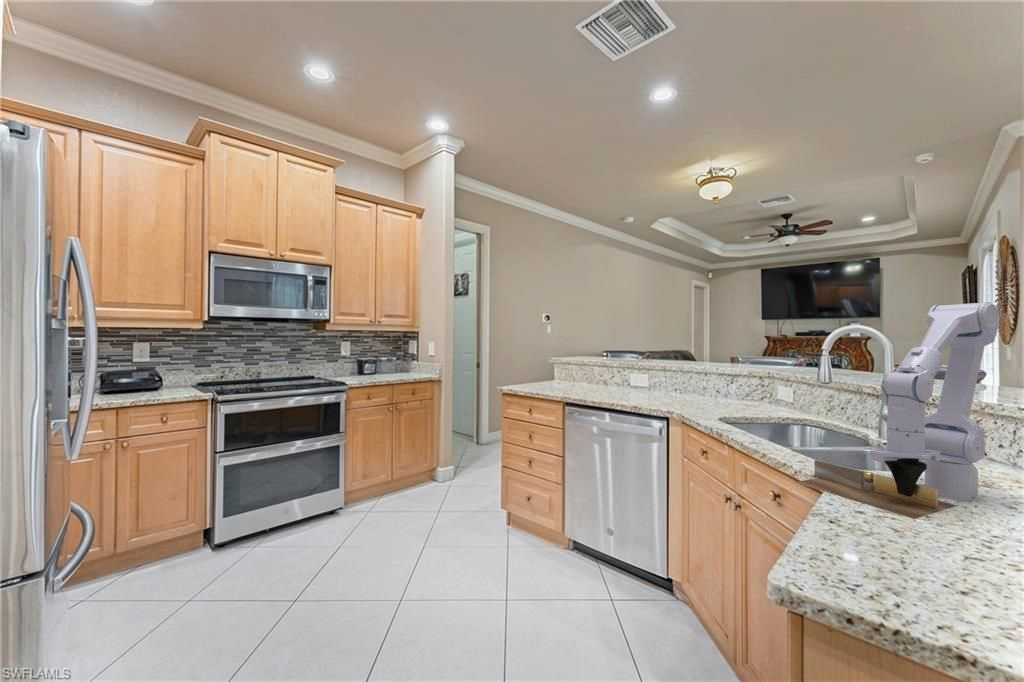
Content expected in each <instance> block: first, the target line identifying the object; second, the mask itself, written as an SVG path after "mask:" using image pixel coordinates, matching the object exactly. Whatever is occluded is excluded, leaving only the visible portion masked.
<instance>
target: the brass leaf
mask: <svg viewBox="0 0 1024 682" xmlns="http://www.w3.org/2000/svg"><path fill="white" fill-rule="evenodd" d="M864 481H867V482H874V484H875V492H877V493H881V494H885V495H889V496H893V497H896V498H900V499H904V500H908V501H911V502H915V503H919V504H923V505H927V506H930V507H934V508H937V507H938V500H939V499H938V497H939V496H938V488H934V487H929V486H925V484H919V483H916V485H915V487H914V490H913V495H912V497H908V496H905V495H902V494H899V493H898V491H897V485H896V482H895V479H894V477H890V476H886V475H881V474H878V473H874V472H872V471H871V472H870V471H864Z"/></svg>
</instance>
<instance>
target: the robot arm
mask: <svg viewBox="0 0 1024 682" xmlns="http://www.w3.org/2000/svg"><path fill="white" fill-rule="evenodd" d="M926 319H927V326H928V329H927V332H926V334H925V336H924V337H923V339H922V341H921V344H920V345H919V346H916V347H913V348H911V349H910V350H909V351H908V353H907V354H906V356H905V357H904V358H903V359H902V362H901V363H900V364H899V365H898V366H897V368H896V370H895V371H891V372H889V373H887V374H885V375H884V376H883V378H882V381H881V384H880V386H879V387H880V391H881V394H882V395H883V404H884V406H886V407H887V409H886V410H887V412H886V417H887V420H886V425H887V426H886V427H887V428H886V434H887V435H886V437H887V438H886V447H883V448H879V449H871V450H870V460H873V461H876V462H879V463H885V464H886V465H887V467H888V469H889V471H890V472H891V474H892V478H894V479H895V482H896V485H897V491H898V493H899V494H902V495H905V496H908V497H912V495H913V490H914V487H915V485H916V484H917V482H918V480H919V479H920V477H921V475H923V473H924V485H925V486H929V487H934V488H938V497H940V498H944V499H950V500H954V501H955V500H956V501H964V502H965V501H972V500H973V498H974V497H978V496H979V471H978V469H977V468H976V467H977V466H975V463H977V462H979V461H981V460H982V459H983V458H984V455H985V452H986V442H985V440H986V439H985V437H986V432H985V430H984V429H983V428H982V427H981V426H980V425H979V424H977V423H976V422H975V421H973V420H972V419H970V414H971V409H972V405H973V402H974V401H973V400H974V396H975V392H976V386H977V381H978V377H979V373H980V368H981V363H982V359H983V356H984V355H983V354H984V351H985V347H986V346H988V345H991V344H993V343H994V342H995V339H996V337H997V333H998V331H999V330H998V329H999V324H1000V319H1001V318H1000V313H999V311H998V308H997V306H996V304H993V302H991V301H984V302H977V303H976V302H974V303H959V304H958V303H957V304H944V305H941V304H934V305H933V306H932V307H930V309H928V312H927V316H926ZM948 347H950V353H949V358H948V362H947V366H946V370H945V375H944V378H943V382H942V383H943V384H942V388H941V392H940V397H939V401H938V407H937V411H936V412H934V413H932V414H929V415H927V416H926V402H928V401H929V400H930V398H931V397H932V395H933V391H934V385H935V381H936V380H935V379H934V378H935V377H936V375H937V373H938V372H939V371H940V369H941V367H942V366H943V364H944V363H945V358H944V356H943V355H942V354H943V353H944V351H945V350H946V349H947V348H948ZM920 461H924V462H920Z"/></svg>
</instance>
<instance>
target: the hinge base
mask: <svg viewBox="0 0 1024 682" xmlns="http://www.w3.org/2000/svg"><path fill="white" fill-rule="evenodd" d="M813 469H814V473H813V474H814V475H813V476H814V477H815V478H811V479H804V480H798V481H795V482H794V483H795V484H798V485H802V486H805V487H809V488H812V489H815V490H819V491H820V492H825V493H828V494H832V495H834V496H839V497H841V498H845V499H848V500H851V501H854V502H858V503H861V504H865V505H867V506H871V507H874V508H877V509H880V510H883V511H887V512H890V513H894V514H898V515H901V516H904V517H908V518H910V519H914V520H915V519H919V518H922V517H926V516H929V515H932V514H935V513H938V512H942V511H944V510H945V511H946V510H948V509H952V508H955V507H958V505H957V504H954V503H950V502H947V501H943V500H939V499H938V507H937V508H934V507H930V506H927V505H923V504H919V503H915V502H911V501H908V500H904V499H900V498H896V497H893V496H889V495H885V494H881V493H877V492H875V481H874V482H867V481H864V472H865V471H864V470H861V469H856V468H854V467H853V468H852V467H848V466H844V465H840V464H836V463H832V462H828V461H824V460H820V459H814V468H813Z"/></svg>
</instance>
